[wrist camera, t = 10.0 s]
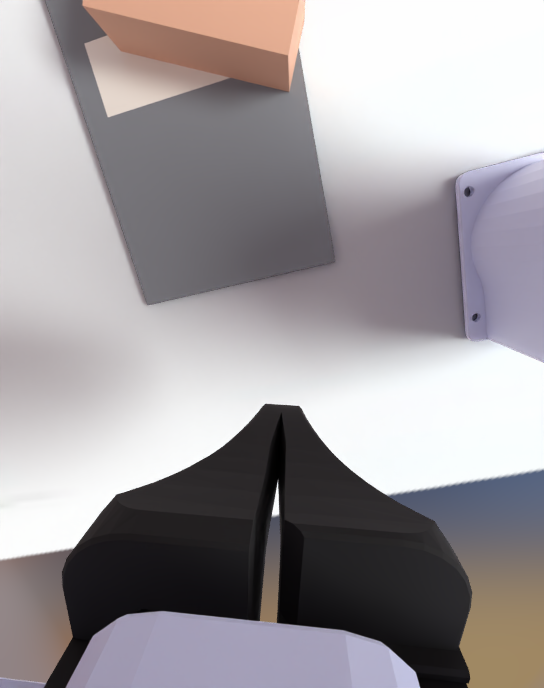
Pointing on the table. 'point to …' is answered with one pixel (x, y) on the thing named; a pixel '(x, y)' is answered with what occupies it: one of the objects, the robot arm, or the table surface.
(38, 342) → the table surface
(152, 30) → the t block
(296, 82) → the t mat
